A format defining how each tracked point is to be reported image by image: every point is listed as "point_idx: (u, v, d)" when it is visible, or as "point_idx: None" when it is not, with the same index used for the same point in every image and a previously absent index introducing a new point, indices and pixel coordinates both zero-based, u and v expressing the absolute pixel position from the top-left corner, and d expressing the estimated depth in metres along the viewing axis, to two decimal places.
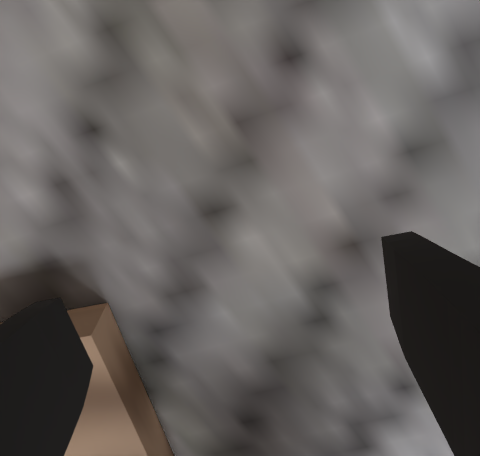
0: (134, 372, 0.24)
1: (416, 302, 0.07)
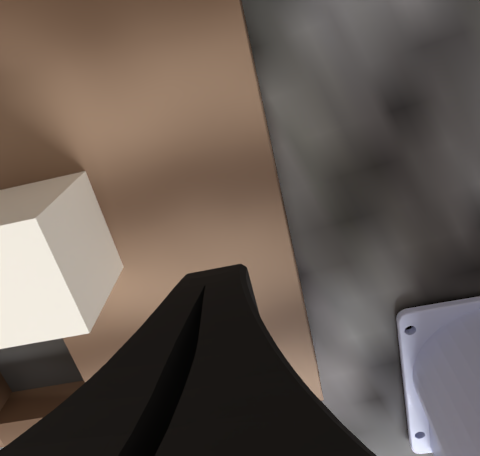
0: None
1: None
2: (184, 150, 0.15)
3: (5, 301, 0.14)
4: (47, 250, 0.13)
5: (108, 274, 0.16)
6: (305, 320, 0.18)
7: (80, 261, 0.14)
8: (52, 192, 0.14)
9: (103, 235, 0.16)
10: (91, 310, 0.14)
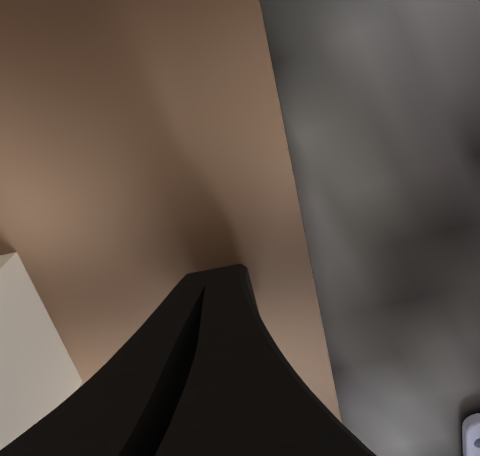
0: None
1: None
2: (168, 223, 0.10)
3: None
4: None
5: (53, 408, 0.11)
6: None
7: None
8: None
9: (47, 346, 0.11)
10: None
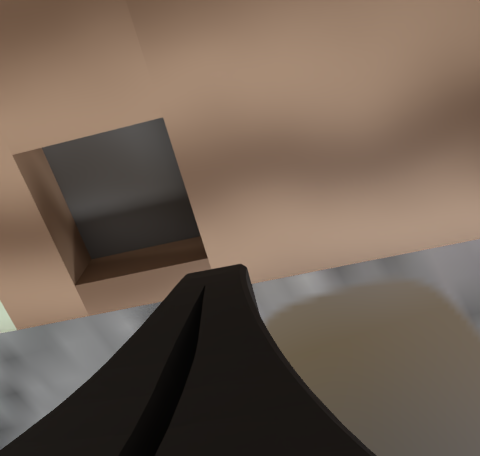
0: None
1: None
2: None
3: None
4: None
5: None
6: None
7: None
8: None
9: None
10: None
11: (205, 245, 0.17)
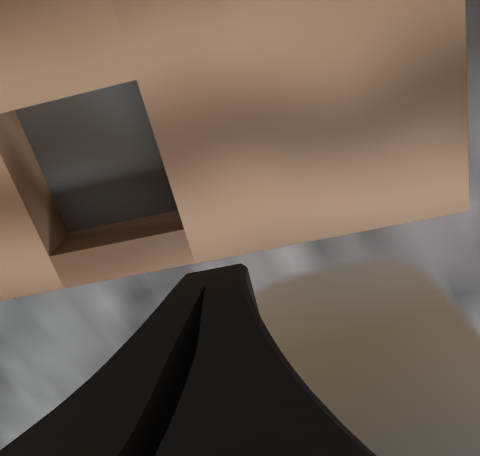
0: None
1: None
2: None
3: None
4: None
5: None
6: (465, 83, 0.14)
7: None
8: None
9: None
10: None
11: (181, 215, 0.17)
